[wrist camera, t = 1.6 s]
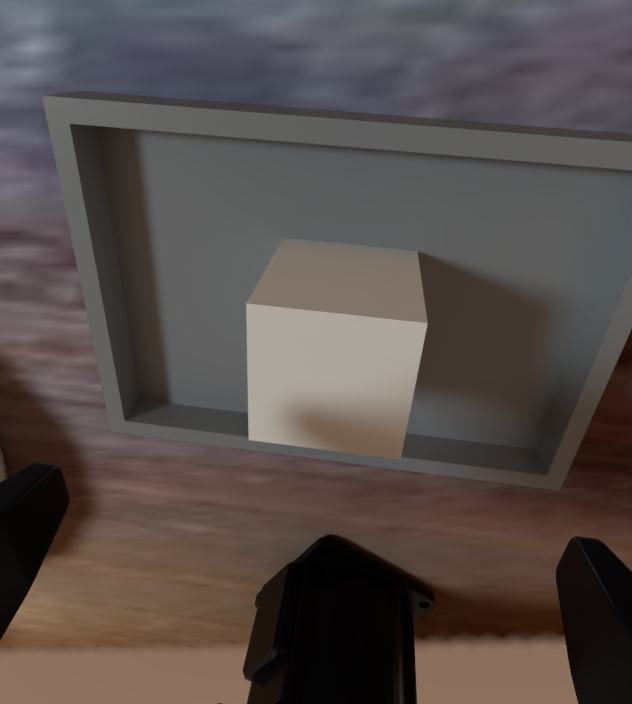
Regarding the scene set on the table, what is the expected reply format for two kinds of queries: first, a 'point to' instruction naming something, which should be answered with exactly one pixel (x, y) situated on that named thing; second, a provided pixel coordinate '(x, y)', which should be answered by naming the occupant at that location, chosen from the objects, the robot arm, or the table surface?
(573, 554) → the robot arm
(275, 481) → the table surface
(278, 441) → the block
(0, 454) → the bowl
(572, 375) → the parts tray
